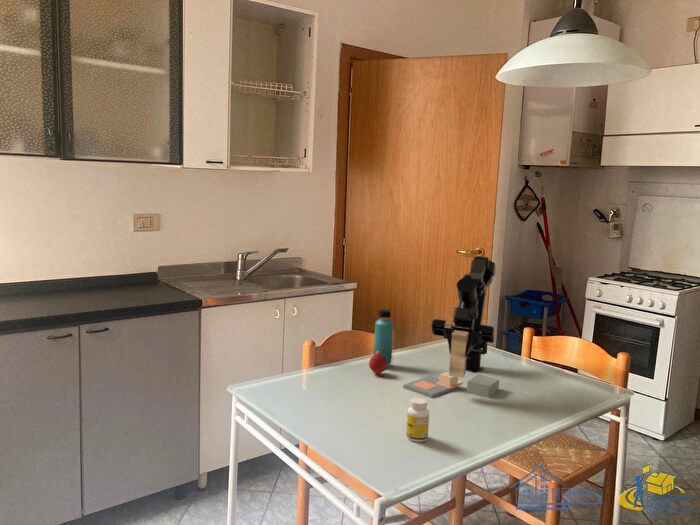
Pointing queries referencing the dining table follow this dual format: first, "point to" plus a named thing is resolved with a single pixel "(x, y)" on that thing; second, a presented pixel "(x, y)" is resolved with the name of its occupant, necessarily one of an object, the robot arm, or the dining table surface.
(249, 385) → the dining table surface
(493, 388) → the cover
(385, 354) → the beverage bottle
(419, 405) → the supplement bottle
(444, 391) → the board
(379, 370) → the onion
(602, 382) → the dining table surface
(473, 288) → the robot arm
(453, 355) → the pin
